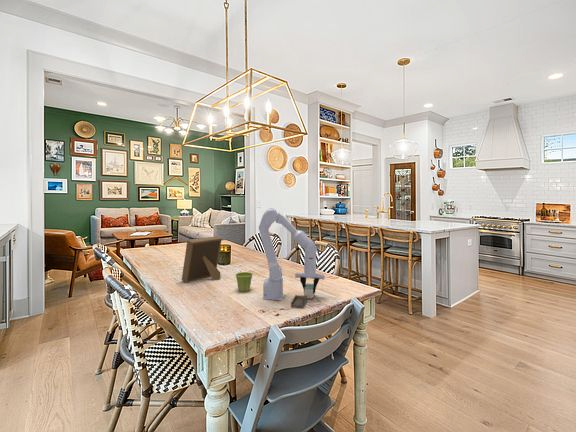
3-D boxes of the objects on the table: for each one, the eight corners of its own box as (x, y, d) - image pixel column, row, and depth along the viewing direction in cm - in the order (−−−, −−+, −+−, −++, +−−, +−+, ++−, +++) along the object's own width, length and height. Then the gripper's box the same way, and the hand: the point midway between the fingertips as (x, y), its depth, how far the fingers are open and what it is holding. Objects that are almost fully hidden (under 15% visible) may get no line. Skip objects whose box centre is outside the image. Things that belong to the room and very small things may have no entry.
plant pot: (256, 290, 159) (256, 274, 159) (242, 294, 152) (242, 277, 152) (245, 286, 166) (245, 271, 165) (231, 290, 159) (231, 274, 158)
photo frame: (181, 281, 174) (181, 239, 173) (211, 273, 192) (211, 235, 190) (197, 286, 166) (197, 241, 164) (227, 278, 183) (227, 237, 182)
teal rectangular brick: (304, 297, 146) (304, 287, 145) (306, 292, 154) (306, 283, 153) (312, 298, 145) (312, 288, 145) (314, 293, 153) (314, 283, 152)
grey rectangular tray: (291, 307, 135) (291, 302, 135) (295, 299, 146) (295, 294, 146) (303, 308, 134) (303, 303, 134) (306, 300, 144) (306, 295, 144)
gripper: (294, 266, 146) (293, 293, 147) (324, 268, 143) (323, 296, 144) (296, 263, 153) (296, 289, 154) (325, 265, 150) (324, 291, 151)
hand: (309, 292), depth 149 cm, fingers closed on teal rectangular brick, 4 cm apart
